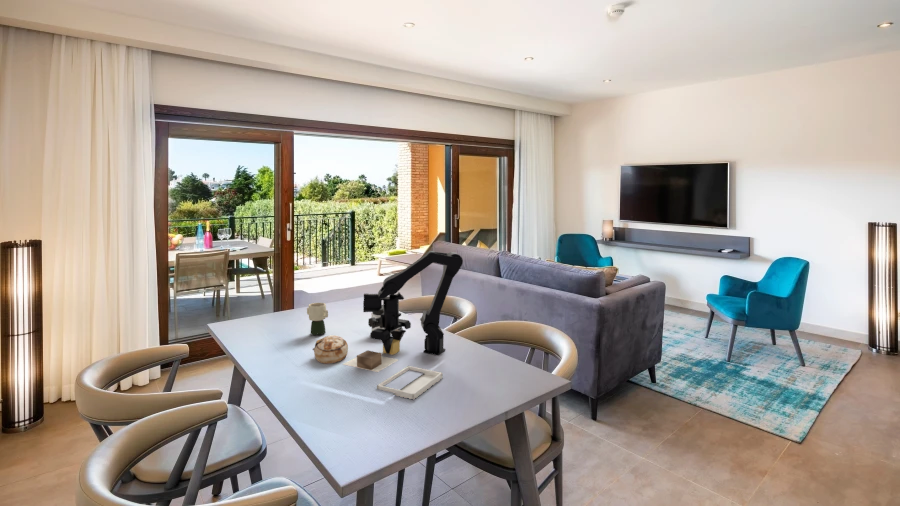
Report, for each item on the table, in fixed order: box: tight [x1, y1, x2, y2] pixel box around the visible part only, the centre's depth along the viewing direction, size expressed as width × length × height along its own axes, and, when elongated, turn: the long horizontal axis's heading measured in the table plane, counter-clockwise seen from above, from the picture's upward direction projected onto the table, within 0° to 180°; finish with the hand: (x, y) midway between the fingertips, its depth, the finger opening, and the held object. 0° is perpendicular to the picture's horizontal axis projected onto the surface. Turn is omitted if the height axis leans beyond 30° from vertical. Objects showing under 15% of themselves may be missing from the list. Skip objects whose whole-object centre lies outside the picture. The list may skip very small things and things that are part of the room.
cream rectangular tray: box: [376, 365, 443, 401], centre depth 146 cm, size 13×18×2 cm
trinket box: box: [312, 334, 349, 364], centre depth 168 cm, size 13×15×8 cm
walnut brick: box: [356, 350, 383, 371], centre depth 159 cm, size 6×6×4 cm
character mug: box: [306, 302, 329, 336], centre depth 195 cm, size 11×7×13 cm, turn 66°
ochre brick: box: [382, 339, 401, 356], centre depth 173 cm, size 4×4×5 cm
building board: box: [342, 355, 399, 373], centre depth 163 cm, size 15×13×1 cm
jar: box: [370, 304, 384, 332], centre depth 196 cm, size 9×8×12 cm
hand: (391, 351), depth 173 cm, fingers closed on ochre brick, 4 cm apart
